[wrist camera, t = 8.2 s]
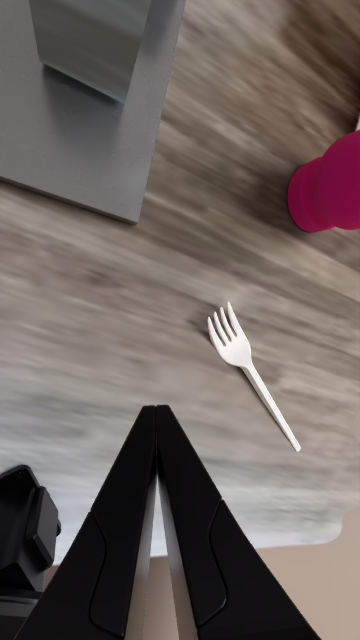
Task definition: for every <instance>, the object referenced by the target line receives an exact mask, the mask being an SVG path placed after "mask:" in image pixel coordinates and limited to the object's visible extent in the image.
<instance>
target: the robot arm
mask: <svg viewBox="0 0 360 640" xmlns="http://www.w3.org/2000/svg"><path fill="white" fill-rule="evenodd" d="M156 439H157V446H156ZM20 472H25V474H23V475H21V474H19V473H20ZM157 476H158V486H159V493H160V500H161V508H162V515H163V522H164V530H165V537H166V545H167V552H168V559H169V566H170V574H171V581H172V589H173V596H174V604H175V611H176V618H177V626H178V633H179V640H322V639H321V638H320V637H319V636H318V635H317V633H316V632H315V631H314V630H313V629H312V627H311V626H310V625H309V623H308V622H307V621H306V619H305V618H304V617H303V615H302V614H301V613H300V611H299V610H298V609H297V607H296V606H295V604H294V603H293V602H292V600H291V599H290V598H289V596H288V595H287V593H286V592H285V591H284V589H283V588H282V586H281V585H280V584H279V582H278V581H277V580H276V578H275V577H274V575H273V574H272V573H271V571H270V570H269V569H268V567H267V566H266V564H265V563H264V562H263V560H262V559H261V558H260V556H259V555H258V553H257V552H256V550H255V549H254V547H253V546H252V544H251V543H250V542H249V540H248V539H247V537H246V536H245V534H244V533H243V531H242V529H241V528H240V526H239V525H238V523H237V521H236V520H235V518H234V516H233V515H232V513H231V512H230V510H229V508H228V506H227V505H226V503H225V501H224V500H222V496H221V495H220V493H219V491H218V489H217V488H216V486H215V484H214V482H213V481H212V479H211V477H210V476H209V474H208V472H207V470H206V469H205V467H204V465H203V463H202V462H201V460H200V458H199V457H198V455H197V453H196V451H195V450H194V448H193V446H192V444H191V443H190V441H189V439H188V438H187V436H186V434H185V432H184V431H183V429H182V427H181V425H180V424H179V422H178V420H177V419H176V417H175V415H174V413H173V412H172V410H171V408H170V407H169V405H157V406H156V407H155V406H154V405H149V406H143V407H142V409H141V411H140V413H139V415H138V417H137V419H136V420H135V422H134V424H133V426H132V428H131V430H130V432H129V434H128V436H127V438H126V440H125V442H124V444H123V446H122V448H121V450H120V452H119V454H118V456H117V458H116V460H115V462H114V464H113V466H112V468H111V470H110V472H109V474H108V476H107V478H106V480H105V481H104V483H103V485H102V487H101V489H100V491H99V493H98V495H97V497H96V499H95V501H94V503H93V505H92V507H91V512H89V513H88V515H87V517H86V519H85V521H84V522H83V524H82V526H81V528H80V530H79V532H78V534H77V536H76V538H75V539H74V541H73V543H72V545H71V547H70V549H69V551H68V552H67V554H66V556H65V557H64V559H63V561H62V562H61V564H60V566H59V567H58V569H57V571H56V572H55V574H54V576H53V577H52V579H51V581H50V582H49V584H48V586H47V587H46V589H45V590H44V592H43V589H44V581H45V572H46V570H47V569H48V568H50V567H51V566H52V564H53V562H54V555H55V544H56V537H57V536H58V535H59V534H60V533H61V523H60V521H59V519H58V510H57V508H56V506H55V504H54V502H53V501H52V499H51V497H50V495H49V493H48V491H47V490H46V488H45V487H43V486H40V485H39V483H38V481H37V479H36V477H35V476H34V474H33V472H32V470H31V468H30V467H29V466H27V465H21V466H19V467H16V468H14V469H12V470H10V471H8V472H6V473H4V474H2V475H0V640H142V637H143V626H144V615H145V604H146V592H147V581H148V570H149V560H150V550H151V539H152V528H153V517H154V506H155V495H156V483H157Z"/></svg>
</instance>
